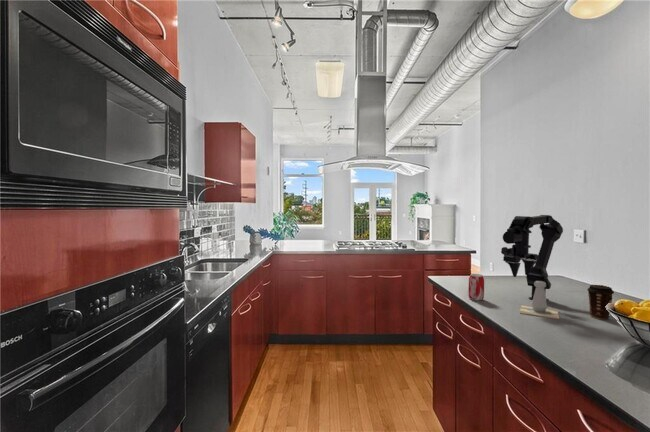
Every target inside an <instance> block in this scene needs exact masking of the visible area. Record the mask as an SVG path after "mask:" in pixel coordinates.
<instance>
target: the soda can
mask: <svg viewBox="0 0 650 432" xmlns="http://www.w3.org/2000/svg"><path fill="white" fill-rule="evenodd" d="M467 291H468V295H467V296H468V298H469V299H470V300H471V301H478V302H481V301H482V300H484V297H485V278H484V275H483V274H480V273H479V274H478V273H470V276H469V277H468V290H467Z"/></svg>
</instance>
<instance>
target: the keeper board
mask: <svg viewBox="0 0 650 432" xmlns="http://www.w3.org/2000/svg"><path fill="white" fill-rule="evenodd" d="M519 314H520V315H528V316H535V317H541V318H548V319H554V320H560V315H559V310H558V309H555V308H548V307H547V309H546V311H545V312H543V313H542V312H536V311H534V310H533V307H532V305H525V304H521V306H520V310H519Z"/></svg>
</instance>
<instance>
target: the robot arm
mask: <svg viewBox="0 0 650 432" xmlns="http://www.w3.org/2000/svg"><path fill="white" fill-rule="evenodd" d="M538 225H539V229H540V230H541V231H540V232H541V236H542V242H541V246H540V248H539V251H538V254H537V253H531V252H530V250H529V249H531V247H532V246H531V245H530V244H529V243H530V234H532V231H531V229H532V228H534V226H538ZM563 232H564V228H563V227H562V225H561V223H560V222H559V221H557V220H556V219H554V217H553V216H552V215H550V214H541V215H540V214H539V215H536V216H530V215H529V216H524V215H516V216H514V218H513V219H512V221H511V223H510V225H509V227H508V228H507V229H506V231H505V232H504V233H503V234H502V240H503V242H504V243H505V244H507V245H510V244H511V247H507V246H504V247H501V250H500V252H501V254H502V255H503V257H502V258H503V259H502V261H503V262H505V263H506V264H507V265H509V268H510V270H511V274H512V276H513V277H514V278H517V275H518V273H519V270H520V266H521V261H522V263H523V264H524V275H525V276H526V277H525V278H526V282H527V286H528V287H529V286H530V287H531V296H528V299H530V300H533V297H534V293H535V289H536V286H534V282H535V281H543V282H545V283H546V287H544V290H545V296H546V293H547V291H546V290H550V289H551V287H552V283H551V282H550V280H549V278H548V277H549V273H548V272H547V267H548V264H549V261H550V258H551V255H552V251H553V248H554V246H555V243H556V242H557V241H559V239H560V238H561V237H562V235H563ZM546 297H547V296H546ZM549 300H550V299H549V298H546V302H547V301H549Z"/></svg>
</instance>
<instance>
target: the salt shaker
mask: <svg viewBox="0 0 650 432" xmlns="http://www.w3.org/2000/svg"><path fill="white" fill-rule="evenodd" d="M534 286H536V289H535V293H534V297H533V299H531V300H532V301H531V305H530V306H532V307H533V310H534V311H536V312H542V313H543V312H545V311H546V309H547V308H548V303H547V301H546V299H547V296H545V290H544V287H546V283H545V282H543V281H535V282H534Z"/></svg>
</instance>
